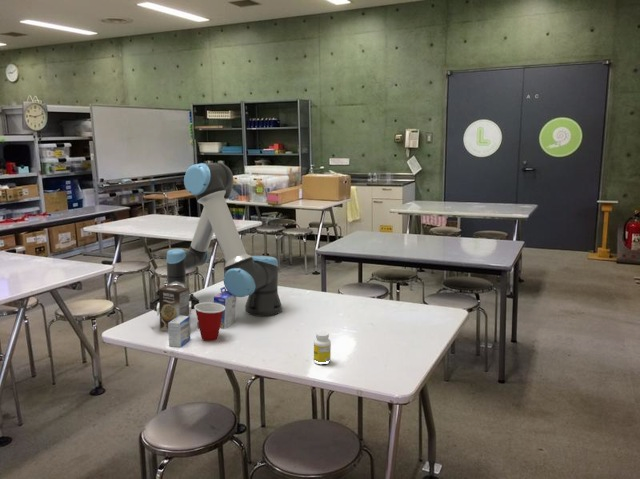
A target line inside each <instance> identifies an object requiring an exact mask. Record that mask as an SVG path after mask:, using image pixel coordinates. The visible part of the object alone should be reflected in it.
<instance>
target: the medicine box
mask: <svg viewBox="0 0 640 479" xmlns="http://www.w3.org/2000/svg"><path fill="white" fill-rule="evenodd" d="M167 333H168V346H169V347H172V348H173V347H175V348H181V347H183V346H184V345H185V344H186V343H187V342H189V341H190V340H191V318H190V315H189V316H178V317H176V318H175V319H173V320H172V321H170V322H169V323H168V332H167Z"/></svg>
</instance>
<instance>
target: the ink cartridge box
mask: <svg viewBox="0 0 640 479" xmlns="http://www.w3.org/2000/svg"><path fill="white" fill-rule="evenodd" d="M219 290H220V293H218V294H216V295H214V296H213V303H217V304H221V305H223V306H225V310H224V311H223V315H222V319H221V325H220V329H221V330H222V329H223V330H224V329H226V328H228V326H230V325H231V324H233V323H234V322H235V321H236V311H237V310H236V309H237V308H236V307H237V297H236V296H234V295H232V294H230V293H229V292H228V291H227V289H226V288H225V286H223V287H221V288H220V289H219Z"/></svg>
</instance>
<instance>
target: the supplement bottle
mask: <svg viewBox="0 0 640 479" xmlns="http://www.w3.org/2000/svg"><path fill="white" fill-rule="evenodd" d="M329 336H330V334H329V332H327V331H323V330H321V331H317V332H316V334H315V340H314V341H313V361H314V360H316V361H318V362H326V361H329V360H330V361H331V355H332V354H331V353H332V352H331V350H332V349H331V347H332V346H331V345H332V344H331V343H332V342H331V340H330V339H329Z"/></svg>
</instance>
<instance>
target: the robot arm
mask: <svg viewBox="0 0 640 479" xmlns="http://www.w3.org/2000/svg"><path fill="white" fill-rule="evenodd" d="M183 177H184V178H183V184H184V188H185V190H186V191H187V192H188V193H189V194H191V195H193V196H195V199H196V201H197V203H198V204H200V205H202V206H203V209H202V211H201V214H200V217H199V220H198V222H197V226H196V228H195V231H194V235H193V238H192V240H191V243H190V246H189V249H188V250H186V251H185V250H184V249H183V248H173V249H169V250H167V252H166V260H165V261H166V284H167V285H166V286H169V285H172V286H178V287H184V288H187V280H186V278H187V276H186V275H187V273H186V270H189V269H192V268H193V269H194V268H197V267H201V266H203V265H204V264H206V263H207V262H208V261H209V260H210V253H209V251H208V250H209V247H210V244H211V241H212V238H213V236H214V235H215V237H216V241H217V243H218V245H219V248H220V250H221V253H222V255H223V258H224V261H225V264H224V266H223V268H224V271H225V273H224V276H223V285H224V287H225V288H226V291H228V292H229V293H230V294H232V295H234V296H236V298H244V297H247V299H246V302H245V305H244V307H245V308H244V311H245V313H246V314H248V315H251V316H255V317H269V316H268V315H271V316H274V315H273V314H275V315H277V314H276V313H278V312H280V311H281V310H282V308H283V307H282V301H281V299H280V296H279V293H278V290H279V289H278V288H279V287H278V285H279V284H278V283H279V277H278V276H279V275H278V274H279V273H278V272H279V265H278V264H279V262H278V259H277V258H276V257H274V256H268V255H250V254H248V253H247V251H246V249H245V246H244V244H243V243H244V242H243V241H242V239H241V237H240V233H239V231H238V229H237V226H236V224H235V221H234V218H233V216H232V213H231V211H230V208H229V207H228V204H227V200H229V199H230V196H231V194H232V191H233V188H234V175H233V172H232V171H231V169H230V168H229V166H227V165H226V164H224V163H223V162H222V163H221V162H211V163H209V162H208V163H204V162H200V163H196V164H193V165H190V166H189V167H188V168H187V169H186V171H185V175H184V176H183ZM199 303H200V300H199V299H198V297H196V296H194V293H189V315H192V310H195V308H194V306H195V305H197V304H199ZM149 310H153V311H154V312H156V317H157V316H160V305H159V294H158V295H156V297H154V299H152V300H151V301H149ZM281 312H282V311H281ZM281 312H280V313H281ZM278 314H279V313H278Z"/></svg>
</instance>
